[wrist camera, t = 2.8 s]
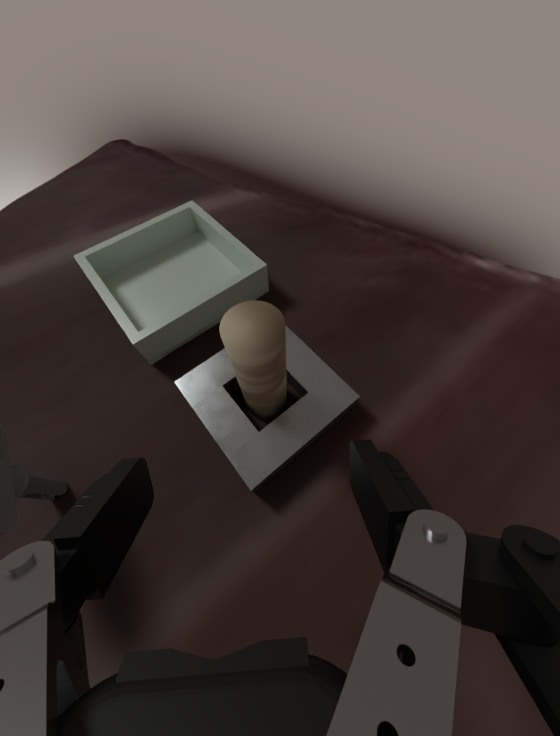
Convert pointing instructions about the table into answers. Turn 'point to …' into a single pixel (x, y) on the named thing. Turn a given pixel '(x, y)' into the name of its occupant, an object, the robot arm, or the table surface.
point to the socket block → (288, 431)
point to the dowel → (257, 355)
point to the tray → (173, 278)
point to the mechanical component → (21, 486)
